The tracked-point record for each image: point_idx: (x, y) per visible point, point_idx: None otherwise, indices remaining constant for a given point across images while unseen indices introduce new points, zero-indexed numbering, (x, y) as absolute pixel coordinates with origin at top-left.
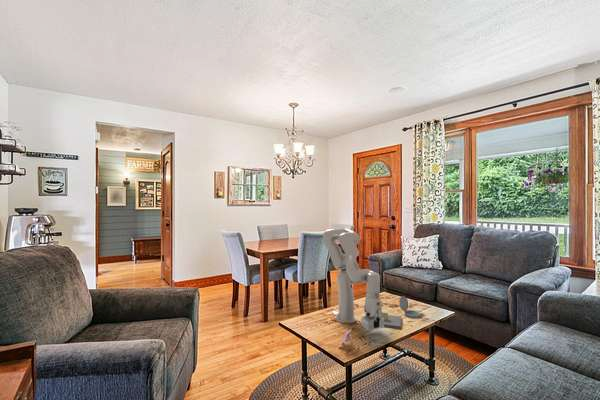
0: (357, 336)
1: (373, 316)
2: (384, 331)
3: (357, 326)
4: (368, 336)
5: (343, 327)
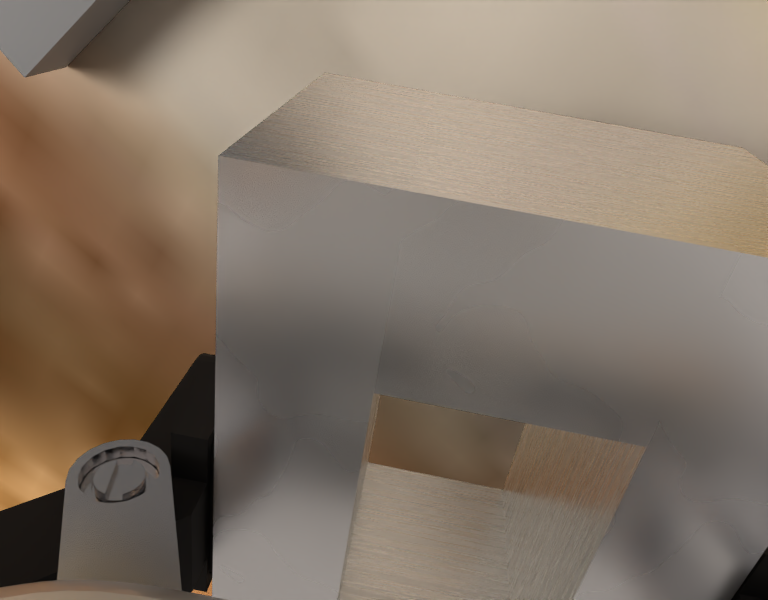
0: None
1: (365, 440)
2: (640, 7)
3: (96, 299)
4: None
5: (53, 479)
